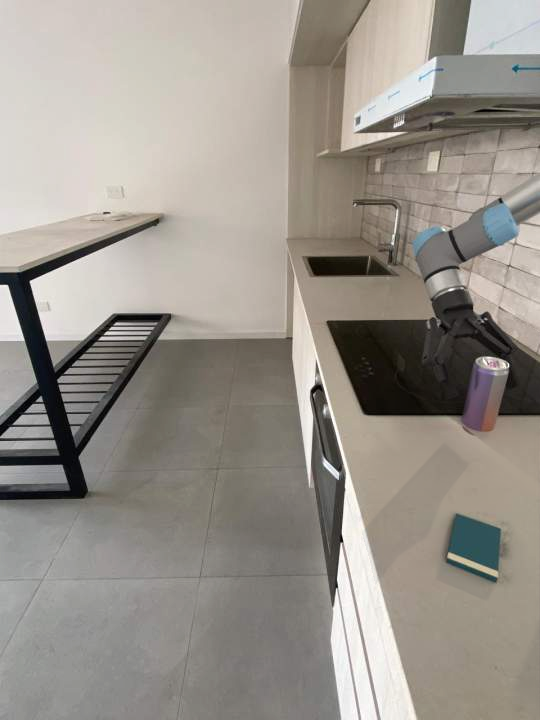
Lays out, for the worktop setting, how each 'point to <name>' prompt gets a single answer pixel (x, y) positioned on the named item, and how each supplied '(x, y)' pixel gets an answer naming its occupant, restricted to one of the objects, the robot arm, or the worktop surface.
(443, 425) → the worktop surface
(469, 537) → the teal hardcover book
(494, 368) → the beverage can
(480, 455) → the worktop surface
